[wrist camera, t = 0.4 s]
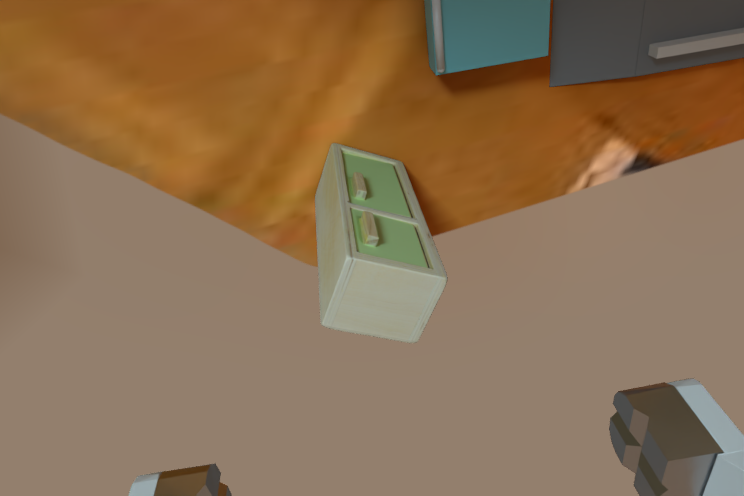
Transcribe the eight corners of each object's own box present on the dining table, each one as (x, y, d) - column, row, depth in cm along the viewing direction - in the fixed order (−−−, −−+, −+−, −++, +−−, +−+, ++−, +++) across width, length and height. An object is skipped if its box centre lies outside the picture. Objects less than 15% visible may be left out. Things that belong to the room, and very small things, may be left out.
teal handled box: (419, -22, 46) (430, -14, 42) (533, -41, 46) (555, -35, 42) (426, 62, 50) (437, 77, 46) (530, 44, 50) (550, 57, 46)
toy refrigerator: (407, 154, 55) (454, 273, 37) (384, 214, 58) (416, 347, 41) (334, 133, 53) (346, 248, 35) (314, 196, 56) (316, 328, 39)
